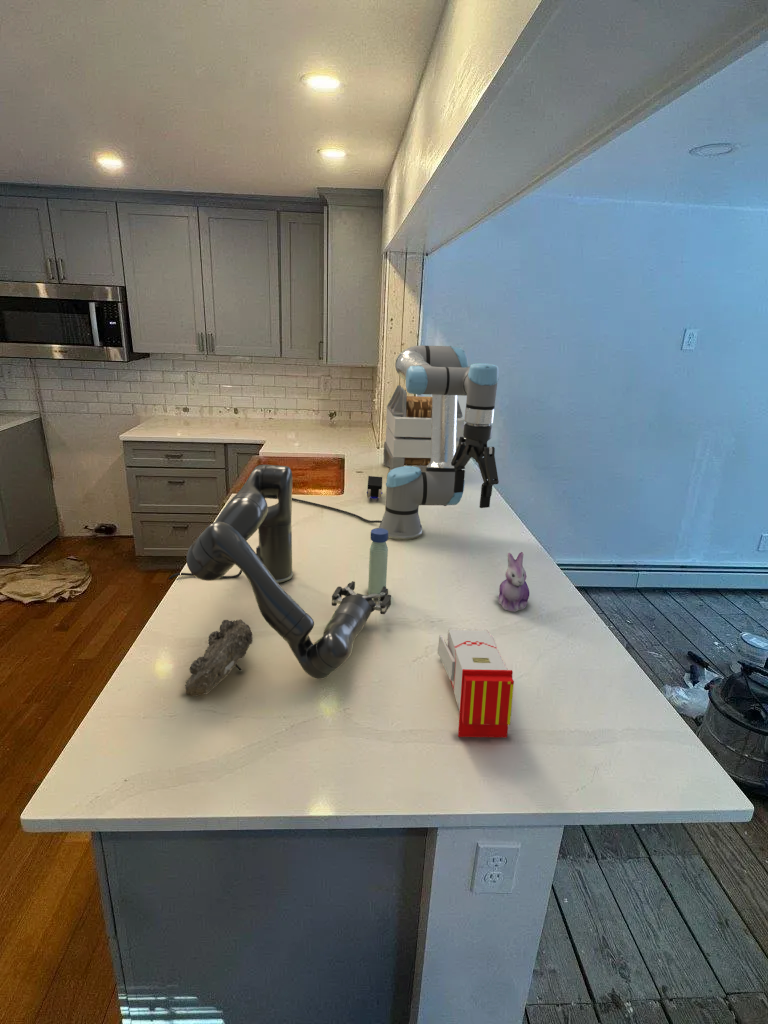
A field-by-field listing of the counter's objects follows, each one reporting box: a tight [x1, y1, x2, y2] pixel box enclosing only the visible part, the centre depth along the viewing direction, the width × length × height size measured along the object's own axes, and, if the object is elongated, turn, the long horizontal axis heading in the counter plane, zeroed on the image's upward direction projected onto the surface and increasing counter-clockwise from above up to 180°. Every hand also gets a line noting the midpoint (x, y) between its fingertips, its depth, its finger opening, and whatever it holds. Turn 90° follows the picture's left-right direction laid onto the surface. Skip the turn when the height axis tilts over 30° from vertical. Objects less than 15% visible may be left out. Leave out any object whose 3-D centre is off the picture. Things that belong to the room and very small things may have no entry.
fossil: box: [184, 619, 253, 697], centre depth 121 cm, size 22×10×15 cm
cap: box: [370, 527, 389, 543], centre depth 152 cm, size 5×5×2 cm
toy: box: [437, 628, 515, 738], centre depth 117 cm, size 12×13×30 cm
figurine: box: [497, 551, 530, 612], centre depth 152 cm, size 9×10×15 cm
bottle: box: [367, 541, 389, 595], centre depth 155 cm, size 5×5×18 cm
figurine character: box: [366, 475, 383, 502], centre depth 235 cm, size 7×8×15 cm
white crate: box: [383, 384, 465, 471], centre depth 268 cm, size 34×33×41 cm
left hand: (369, 587), depth 148 cm, fingers open, 8 cm apart
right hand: (470, 499), depth 158 cm, fingers open, 13 cm apart
